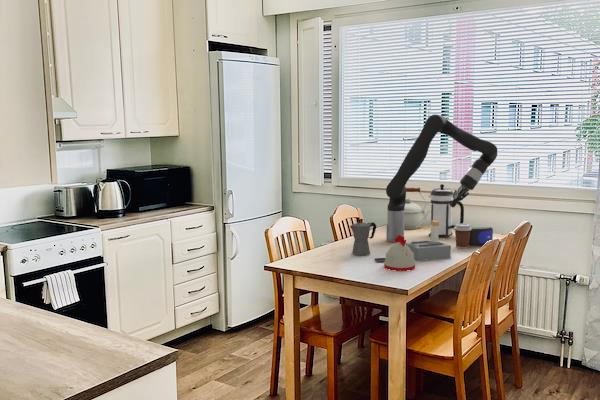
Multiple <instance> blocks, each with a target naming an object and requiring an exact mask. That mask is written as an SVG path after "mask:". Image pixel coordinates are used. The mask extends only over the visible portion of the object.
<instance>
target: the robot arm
mask: <svg viewBox="0 0 600 400" xmlns="http://www.w3.org/2000/svg"><path fill="white" fill-rule="evenodd" d="M438 133H440V134H443V135H445V136H448V137H450V138H452V139H453V140H455V141H456V142H457V143H459V144H460V145H462V146H463V147H465V148H466V149H468V150H471V151H473V152H479V153H481V155H480V156H479V157H478V158H477V159H475V160H474V162H473V163H472V164H471V166H470V168H468V169H467V171H466V172H465V173H464V175H463V176H462V177H461V179H460V181H459V183H460V186H459V187H458V188H457V189H454V191H453V201H452V202H451V203H450V206H451V207H452V208H455V207H456V205H458V204H457V203H458V202H459V201H460V202H462V201H463V200H464V199H465V198H466V197H467V196H469V195H470V192H469V191H473V190H474V189H475V187H476V186H477V185H478V183H479V182H480V180H481V179H482V177H483V176H484V174H485V173H486V171H487V169H488V168H489V167H490V166H491V165H492V164H493V163H494V162H495V160H496V159H497V157H498V147H497V145H496V144H495V143H493V142H491V141H488V140H486V139H481V138H479V137H478V136H476V135H474V134H473V133H470V132H468V131H466V130H464V129H462V128H460V127H459V126H457V125H456V124H454V123H452V122H451V121H450V120H448V119H447V118H446V117H444V115H441V114H432V115H430V116H428V118H427V119H426V121H425V122H424V124H423V127H422V129H421V131H420V134H418V137H417V138H416V139H415V141H414V143H413V144H412V146H411V148H410V149H409V151H408V152H407V154H406V155H405V158H404V159H403V160H402V163H401V165H400V167H399V169H398V170H397V172H396V174H395V175H394V176H393V178H392V179H391V180H390V182H389V183H388V184H387V185H386V188H385V193H386V195H387V198H389V201H388V204H387V214H386V215H387V217H386V219H387V222H386V223H387V224H386V242H390V243H395V239H396V237H398V235H400V236H402V237H404V238H405V229H404V207H405V203H406V200H407V192H406V188H407V187H406V185H407V182H408V181H409V179H410V178H411V177H412V176H413V175H414V174H415V173H416V172H417V171H418V170H419V168H420V167H421V166H422V164H423V163H424V160H425V159H426V157H427V155H428V152H429V148H430V145H431V143H432V141H433V139H434V138H435V136H436V135H437V134H438Z"/></svg>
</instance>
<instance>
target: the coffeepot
mask: <svg viewBox="0 0 600 400" xmlns="http://www.w3.org/2000/svg"><path fill="white" fill-rule="evenodd" d="M363 220H364V219H363V218H360V219H359V222H356V223H353V224H351V225H349V229H351V231H352V232H353V238H354V241H353V247H352V250H351V251H352V253H351V254H352V255H353V256H357V257H365V256H366V255H367V256H369V254H370V255H371V252H370V245H369V239H370V240H371V239H373V238H374V236H375V233H376V229H377V224H376V223H375V222H363ZM371 227H372V231H371V230H370V229H371ZM370 231H371V236H370Z"/></svg>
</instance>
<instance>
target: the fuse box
mask: <svg viewBox="0 0 600 400" xmlns="http://www.w3.org/2000/svg"><path fill="white" fill-rule="evenodd" d="M440 242H441V243H434V244H431V243H429V242H428V239H427V240H418V241H417V240H415V241H410V242H408V241H406V243H405V244H406V245H407V246H408V247H409V248H410V250H411V252H414V260H415V261H418V262H419V261H429V260H440V259H451V255H452V254H451V253H452V252H451V251H452V245H451V244H448V243H445V242H443V241H440Z"/></svg>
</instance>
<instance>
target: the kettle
mask: <svg viewBox="0 0 600 400" xmlns="http://www.w3.org/2000/svg"><path fill="white" fill-rule="evenodd" d="M421 191H422V190H421V187H406V193H409V192H410V193H415V192H418V193H419V195H420V197H421V198H422V199H423V200H424V202H425V204H424V208H423V209H422V208H421V207H420V205H419V204H417V203H415V202H414V203H413V202H412V200H411V199H410V198H406V203H405V207H404V230H416V229H418V228H420V225H421V224H422V223H423V222H424V221H425V220H426V219H427V218H428V216H429V214H431V209H427V210H426V212H425V209H426V206H427V201H426V199H425V198H424V197H423V196H422V194H421Z"/></svg>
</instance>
